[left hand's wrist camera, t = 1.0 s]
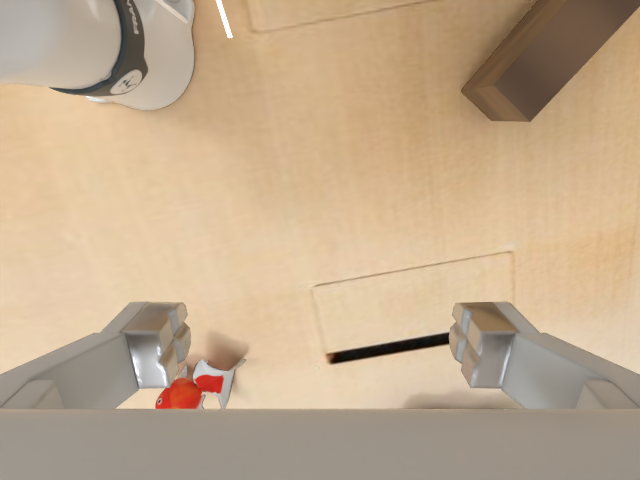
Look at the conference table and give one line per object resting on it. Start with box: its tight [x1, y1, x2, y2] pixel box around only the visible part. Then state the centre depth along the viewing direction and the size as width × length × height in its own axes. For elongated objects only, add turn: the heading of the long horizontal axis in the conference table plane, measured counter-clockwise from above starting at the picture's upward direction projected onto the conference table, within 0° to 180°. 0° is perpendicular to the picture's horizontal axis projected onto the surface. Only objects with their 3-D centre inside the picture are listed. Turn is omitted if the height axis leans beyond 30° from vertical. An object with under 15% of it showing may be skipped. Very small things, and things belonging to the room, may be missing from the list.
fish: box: [155, 359, 246, 409], centre depth 57 cm, size 11×16×10 cm
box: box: [461, 0, 640, 122], centre depth 38 cm, size 28×6×9 cm, turn 142°
